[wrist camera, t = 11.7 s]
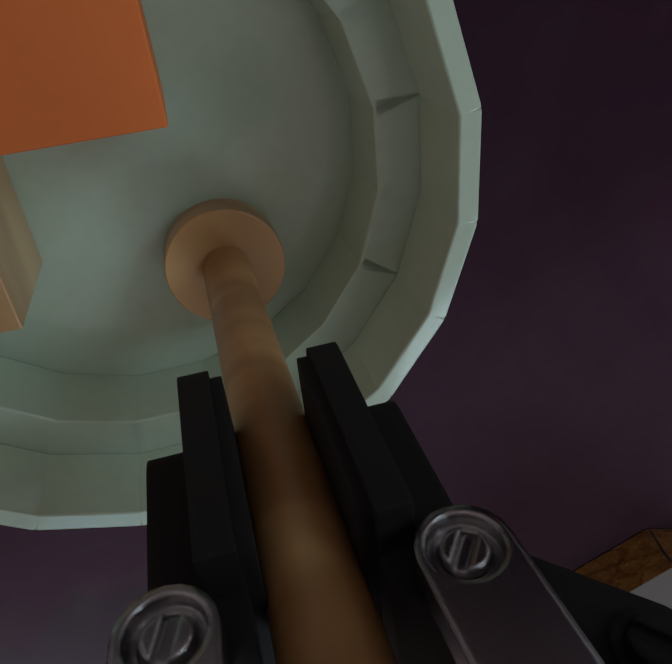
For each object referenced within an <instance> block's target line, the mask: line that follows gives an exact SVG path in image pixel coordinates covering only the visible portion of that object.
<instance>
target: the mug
mask: <svg viewBox="0 0 672 664" xmlns="http://www.w3.org/2000/svg"><path fill="white" fill-rule="evenodd" d="M574 572H576V573H579V574H582V575H584V576H587V577H590V578H592V579H595V580H598V581H600V582H603V583H606V584H608V585H611V586H614V587H617V588H619V589H622V590H625V591H627V592H630V593H633V594H635V595H638V596H641V597H644V598H646V599H649V600H652V601H654V602H657V603H660V604H662V605H665V606H667V607H669V608H671V609H672V529H646V530H644V531H642V532H641V533H639V534H637V535H635V536H634V537H632V538H630V539H629V540H627V541H625V542H623V543H622V544H620V545H618V546H617V547H615V548H613V549H611V550H610V551H608V552H606V553H605V554H603V555H601V556H599V557H598V558H596V559H594V560H593V561H591V562H589V563H587V564H586V565H584V566H582V567H581V568H579V569H577V570H575V571H574Z"/></svg>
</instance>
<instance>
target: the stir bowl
mask: <svg viewBox="0 0 672 664" xmlns="http://www.w3.org/2000/svg"><path fill="white" fill-rule="evenodd" d="M141 2H142V6H143V10H144V15H145V19H146V23H147V27H148V31H149V35H150V39H151V43H152V48H153V52H154V56H155V60H156V64H157V68H158V72H159V76H160V81H161V85H162V89H163V94H164V101H165V107H166V113H167V120H168V127H166V128H160V129H154V130H148V131H142V132H136V133H131V134H125V135H119V136H113V137H107V138H101V139H95V140H90V141H84V142H78V143H72V144H66V145H60V146H54V147H49V148H43V149H37V150H31V151H25V152H19V153H13V154H8V155H2V158H3V161H4V163H5V166H6V168H7V171H8V174H9V176H10V179H11V181H12V184H13V187H14V189H15V192H16V194H17V197H18V200H19V202H20V205H21V207H22V210H23V213H24V215H25V218H26V220H27V223H28V226H29V228H30V231H31V233H32V236H33V239H34V241H35V244H36V247H37V249H38V252H39V254H40V257H41V260H42V266H41V269H40V273H39V276H38V279H37V282H36V286H35V289H34V292H33V296H32V299H31V302H30V306H29V309H28V312H27V315H26V319H25V322H24V325H23V328H21V329H18V330H13V331H8V332H4V333H0V525H5V526H11V527H17V528H23V529H29V530H35V529H36V530H55V529H78V528H101V527H124V526H140V525H147V491H146V466H147V462H148V461H149V460H153V459H157V458H161V457H165V456H170V455H174V454H178V453H182V452H183V448H182V436H181V424H180V413H179V401H178V389H177V377H181V376H186V375H190V374H194V373H199V372H203V371H208V373H209V377H210V378H213V377H218V376H221V377H222V371H221V366H220V360H219V355H218V350H217V344H216V339H215V333H214V328H213V323H212V320H209V319H205V318H202V317H200V316H197V315H195V314H193V313H192V312H190V311H188V310H187V309H186V308H185V307H183V306H182V305H181V304H180V303H179V302H178V301H177V300H176V298H175V297H174V296H173V294H172V292H171V291H170V289H169V287H168V284H167V281H166V277H165V270H164V244H165V240H166V237H167V234H168V232H169V230H170V228H171V226H172V224H173V223H174V222H175V221H176V219H177V218H178V217H179V216H180V215H181V214H182V213H183V212H185V211H186V210H187V209H189V208H190V207H192V206H194V205H196V204H198V203H201V202H203V201H207V200H212V199H232V200H237V201H241V202H243V203H246V204H248V205H250V206H252V207H254V208H255V209H257V210H258V211H259V212H261V213H262V214H263V215H264V216H265V217H266V218H267V220H268V221H269V222H270V224H271V225H272V227H273V229H274V231H275V232H276V234H277V236H278V238H279V240H280V242H281V245H282V247H283V250H284V255H285V273H284V278H283V281H282V284H281V286H280V288H279V290H278V292H277V293H276V295H275V296H274V297H273V299H272V300H271V301H270V302H269V303H268V304H267V305H266V309H267V311H268V314H269V317H270V319H271V322H272V325H273V328H274V330H275V333H276V336H277V338H278V341H279V344H280V346H281V349H282V352H283V355H284V357H285V360H286V363H287V365H288V368H289V371H290V374H291V376H292V379H293V382H294V384H295V387H296V390H297V392H298V395H299V398H300V401H301V403H302V406H303V409H304V405H303V399H302V393H301V386H300V380H299V373H298V367H297V358H300V357H305V356H306V348H309V347H313V346H318V345H322V344H326V343H331V342H336V343H337V345H338V346H339V349H340V351H341V353H342V355H343V357H344V359H345V361H346V363H347V365H348V367H349V369H350V371H351V373H352V375H353V377H354V379H355V381H356V383H357V385H358V387H359V389H360V391H361V393H362V395H363V397H364V399H365V401H366V404H367V406H372V405H376V404H380V403H384V402H386V401H387V400H389V399H390V397H391V396H392V395H393V394H394V392H395V391H396V389H397V388H398V386H399V385H400V383H401V382H402V381H403V379H404V378H405V376H406V375H407V373H408V372H409V370H410V369H411V367H412V366H413V364H414V363H415V362H416V360H417V359H418V357H419V356H420V354H421V353H422V351H423V350H424V348H425V347H426V346H427V344H428V343H429V341H430V340H431V338H432V337H433V335H434V334H435V332H436V331H437V330H438V328H439V327H440V325H441V324H442V322H443V321H444V318H445V317H446V314H447V311H448V308H449V305H450V302H451V299H452V296H453V293H454V290H455V288H456V285H457V282H458V279H459V276H460V273H461V270H462V267H463V264H464V261H465V258H466V255H467V252H468V249H469V246H470V243H471V240H472V237H473V234H474V231H475V228H476V226H477V222H476V221H477V220H478V199H479V172H480V145H481V118H482V110H481V103H480V99H479V95H478V92H477V88H476V84H475V80H474V77H473V73H472V69H471V66H470V62H469V58H468V54H467V51H466V47H465V43H464V39H463V36H462V32H461V28H460V24H459V21H458V17H457V13H456V10H455V6H454V2H453V0H141ZM222 381H223V377H222ZM223 385H224V382H223ZM224 389H225V387H224Z"/></svg>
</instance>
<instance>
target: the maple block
mask: <svg viewBox="0 0 672 664" xmlns="http://www.w3.org/2000/svg"><path fill="white" fill-rule="evenodd" d="M41 266H42V260H41V257H40V254H39V252H38V249H37V247H36V244H35V241H34V239H33V236H32V233H31V231H30V228H29V226H28V223H27V220H26V218H25V215H24V213H23V210H22V207H21V205H20V202H19V200H18V197H17V194H16V192H15V189H14V187H13V184H12V181H11V179H10V176H9V174H8V171H7V168H6V166H5V163H4V161H3V158H2V156H0V333H4V332H8V331H13V330H18V329H21V328H23V325H24V322H25V319H26V315H27V312H28V309H29V306H30V302H31V299H32V296H33V292H34V289H35V286H36V282H37V279H38V276H39V273H40V269H41Z"/></svg>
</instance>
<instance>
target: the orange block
mask: <svg viewBox="0 0 672 664" xmlns="http://www.w3.org/2000/svg"><path fill="white" fill-rule="evenodd" d="M166 127H168V120H167V113H166V107H165V101H164V94H163V89H162V85H161V81H160V76H159V72H158V68H157V64H156V60H155V56H154V52H153V48H152V43H151V39H150V35H149V31H148V27H147V23H146V19H145V15H144V10H143V6H142V2H141V0H0V156H2V155H8V154H13V153H19V152H25V151H31V150H37V149H43V148H49V147H54V146H60V145H66V144H72V143H78V142H84V141H90V140H95V139H101V138H107V137H113V136H119V135H125V134H131V133H136V132H142V131H148V130H154V129H160V128H166Z"/></svg>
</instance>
